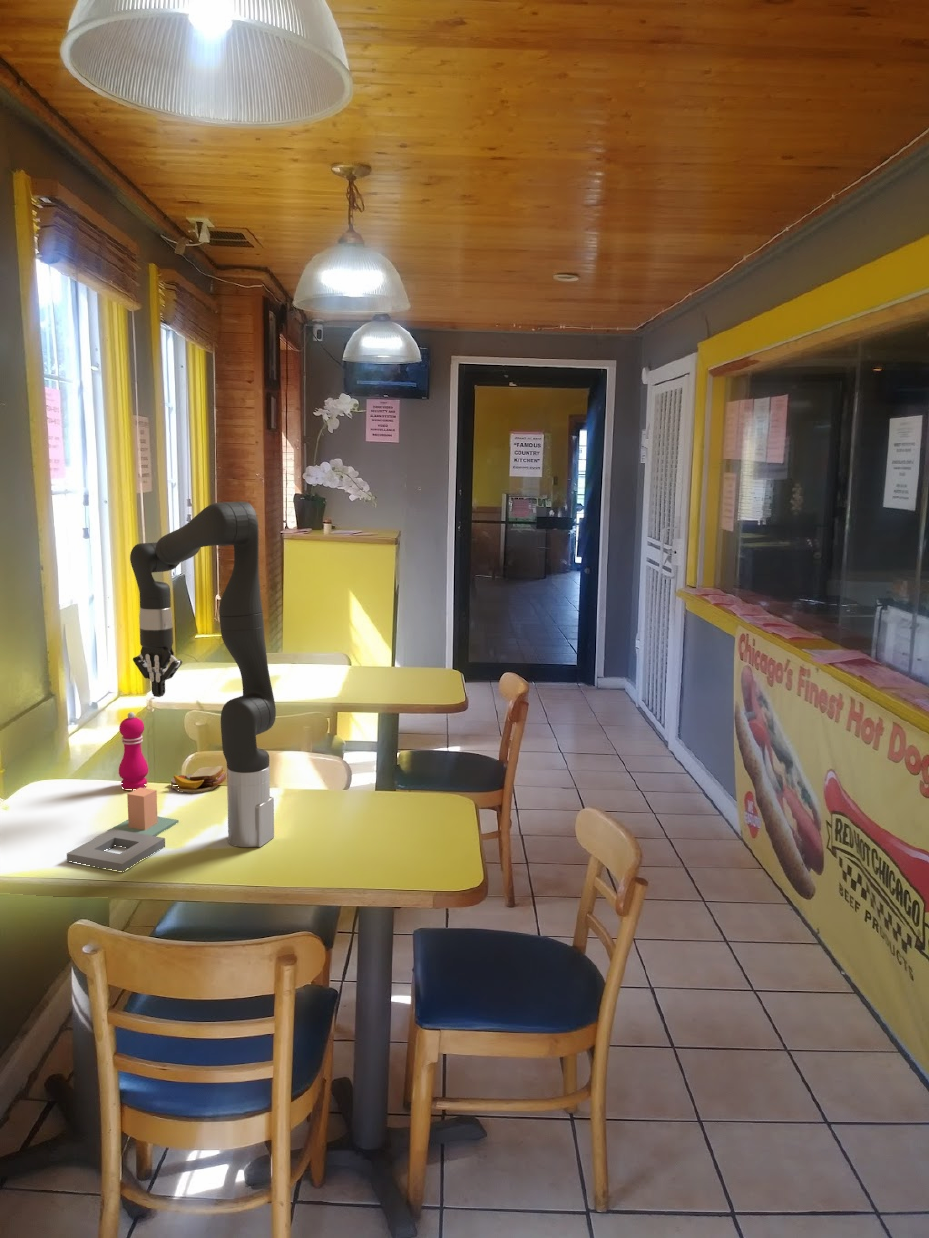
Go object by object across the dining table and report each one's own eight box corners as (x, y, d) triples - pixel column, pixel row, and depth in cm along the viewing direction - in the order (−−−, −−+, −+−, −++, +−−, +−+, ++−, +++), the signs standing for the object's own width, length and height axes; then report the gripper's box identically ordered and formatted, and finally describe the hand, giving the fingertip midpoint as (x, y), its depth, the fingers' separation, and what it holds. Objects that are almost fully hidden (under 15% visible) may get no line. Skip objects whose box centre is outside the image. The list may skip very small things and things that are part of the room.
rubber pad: (178, 822, 214) (178, 819, 214) (148, 840, 204) (148, 837, 203) (139, 815, 217) (139, 813, 217) (107, 832, 207) (107, 830, 207)
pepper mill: (142, 792, 232) (140, 716, 229) (114, 791, 232) (111, 715, 229) (153, 782, 239) (150, 708, 236) (125, 781, 240) (122, 707, 236)
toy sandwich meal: (187, 776, 246) (186, 759, 245) (233, 781, 243) (232, 764, 242) (161, 792, 234) (160, 774, 233) (209, 797, 231) (209, 779, 230)
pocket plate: (165, 846, 200) (165, 838, 200) (122, 873, 187) (122, 863, 187) (112, 837, 205) (111, 828, 204) (67, 862, 192) (66, 853, 191)
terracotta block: (157, 822, 212) (156, 790, 210) (145, 830, 208) (143, 796, 206) (141, 820, 213) (140, 787, 212) (128, 827, 209) (127, 793, 208)
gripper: (189, 625, 220) (191, 695, 223) (143, 621, 224) (145, 689, 227) (170, 630, 213) (172, 702, 216) (122, 626, 217) (125, 696, 220)
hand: (158, 696), depth 222 cm, fingers closed
